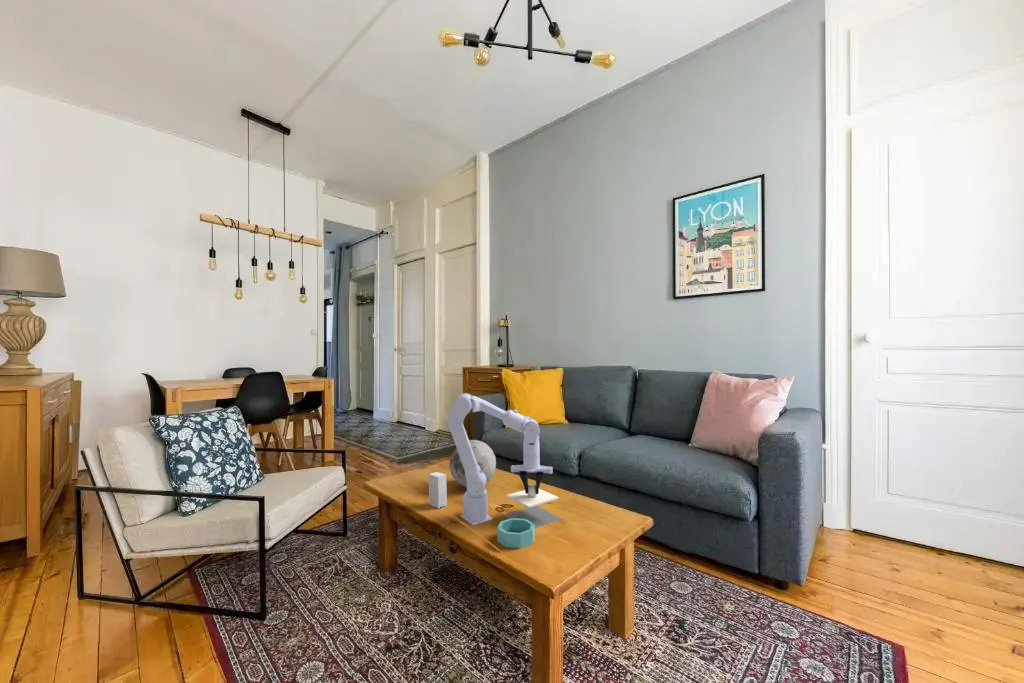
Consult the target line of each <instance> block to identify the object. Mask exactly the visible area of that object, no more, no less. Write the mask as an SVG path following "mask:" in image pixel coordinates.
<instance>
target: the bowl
mask: <svg viewBox="0 0 1024 683" xmlns="http://www.w3.org/2000/svg"><path fill="white" fill-rule="evenodd" d="M535 529H536V528H535V524H534V523H532V522H530V521H529V520H527V519H518V518H511V519H508V518H507V519H505V520H502V521H500V522H499V524H498V526H497V529H496V531H497V533H496V534H497V538H496V539H497V542H498V543H499V544H501V545H502V546H503V547H505V548H510V549H523V548H526V547H528V546H531V545H533V544H534V541H535V538H536V534H535Z"/></svg>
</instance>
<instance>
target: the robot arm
mask: <svg viewBox="0 0 1024 683" xmlns="http://www.w3.org/2000/svg"><path fill="white" fill-rule="evenodd" d="M453 401H454V402H452V404H451V406H450V412H449V416H448V420H447V424H448V428H449V431H450V433H451V436H452V439H453V441H454V444H455V448H456V447H457V450H458V453H459V456H460V459H461V461H462V464H463V467H464V470H465V477H466V481H467V487H466V491H464V492H465V493H464V494H463V496H462V514H460V517H461V518H462V519H464V520H465V521H466V522H468V523H470V524H471V526H474V525H479V524H481V523H485V522H488V521H491V520H493V517H492V516H490V515H489V514H488V490H486V484H487V483H486V481H487V478H486V475H485V474H484V473H483V472H482V471H481V469H480V467H479V465H478V464H477V461H476V459H475V456H474V453H473V450H472V447H471V445H470V442H469V440H470V438H469V437H468V434H467V430H466V428H465V426H464V420H465V418H466V417H467V415H468V414H469V413H470V411H471V410H472V413H477V412H483V413H485V414H488V415H490V416H493V417H494V418H497V419H500V420H502V423H503V425H504V426H506V427H508V428H510V429H512V430H514V431H516V432H519V433H523V441H522V444H523V448H522V449H523V459H522V460H523V464H516V465H513V464H512V465H511V466H510V472H511V473H519V475H518V476H519V478H520V480H521V483H522V484H523V487H524V490H525V493H526V494H528V485H529V473H535V485H536V494H538V493H539V489H540V486H541V481H542V479H543V477H544V474H550V475H552V474H553V473H554V472H553V469H554V468H553V466H549V465H548V466H546V465H541V464H540V463H541V462H540V461H541V460H540V459H541V458H540V456H541V455H540V453H541V452H540V451H541V450H540V434H541V429H540V425H539V422H537V421H536V420H535V419H534V418H531V417H530V416H528V415H526V416H525V415H523V414H521V413H519V412H518V410H517V409H513V410H512V409H508V410H505V409H502V408H500V407H498V406H496V405H494V404H492V403H491V402H489V401H487V400H485V399H482V398H480V397H478V396H476V395H472V394H470V393H467V392H463V393H461V394H460V395H459V396H458V397H456V398H455V400H453Z"/></svg>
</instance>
